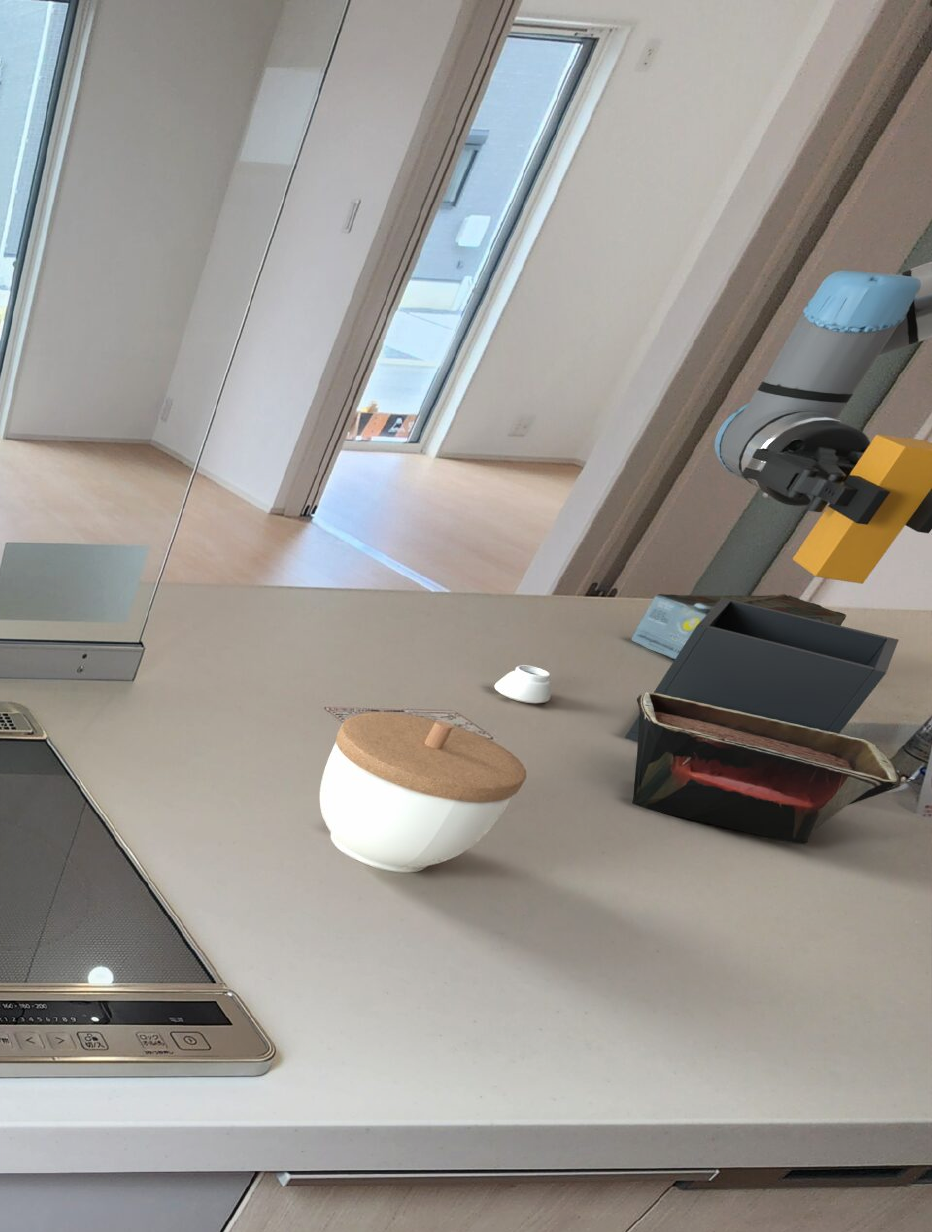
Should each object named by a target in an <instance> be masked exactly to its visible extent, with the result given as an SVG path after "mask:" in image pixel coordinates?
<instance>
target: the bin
mask: <svg viewBox="0 0 932 1232" xmlns="http://www.w3.org/2000/svg"><path fill="white" fill-rule="evenodd" d="M898 643H899V639H898V638H894V637H889V636H886V635H881V634H877V633H873V632H868V631H864V630H860V629H856V628H852V627H849V626H848V627H847V626H844V625H841V626H839V625H835V624H831V623H827V622H823V621H818V620H814V619H810V618H806V617H802V616H797V615H793V614H789V613H785V612H781V611H776V610H772V609H768V608H764V607H760V606H756V605H751V604H747V603H743V602H739V601H735V600H730V599H726V598H722V599H721V600H720V601H719V602H718V603H717V604H716V605H715V606H714V607H713V609H712V610H711V611H710V612H709V613H708V614H707V615H706V616H705V617H704V618H703V619H702V620H701V622H700V623H699V624H698V625H697V626H696V628H695V629H694V631H693V632H692V634H691V635H690V637H689V638H688V640H687V642H686V643H685V645H684V646H683V648H682V649H681V651H680V652H679V654H678V655H677V657H676V659H673V661H672V663H671V665H670V666H669V668H668V670H667V671H666V673H665V674H664V676H663V677H662V679H661V680H660V682H659V683H658V685H657V686H656V688H655V690H654V691H653V693H656V694H663V695H667V696H671V697H675V698H680V699H685V700H690V701H694V702H699V703H704V704H709V705H713V706H716V707H721V708H726V709H731V710H736V711H740V712H744V713H748V714H752V715H757V716H762V717H766V718H770V719H776V720H779V721H783V722H788V723H792V724H797V725H801V726H806V727H809V728H815V729H819V730H823V731H828V732H834V733H837V734H841V732H842V731H843V730H844V728H845V727H846V725H847V724H848V723H849V722H850V720H851V719H852V718H853V716H854V715H855V714H856V713H857V711H858V710H859V709H860V707H861V706H862V705H863V703H864V702H865V701H866V700H867V698H868V697H869V696H870V694H871V693H872V692H873V691H874V689H875V688H876V687H877V685H878V684H879V683H880V682H881V680H882V679H883V678H884V676H885V675H886V674H887V672H888V669H889V667H890V664H891V661H892V659H893V656H894V653H895V651H896V649H897V646H898ZM639 715H640V713H638V716H637V717H636V719H635V720H634V722H633V724H632V725H631V727H630V728H629V730H628V731H627V732H626V734H625V736H624V739H627V740H630V741H633V742H636V743H638V731H639Z"/></svg>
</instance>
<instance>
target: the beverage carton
mask: <svg viewBox="0 0 932 1232" xmlns="http://www.w3.org/2000/svg"><path fill="white" fill-rule="evenodd" d="M722 598H726V599H730V600H735V601H739V602H743V603H747V604H751V605H756V606H760V607H764V608H768V609H772V610H776V611H781V612H785V613H789V614H793V615H797V616H802V617H806V618H810V619H814V620H818V621H823V622H827V623H831V624H835V625H839V626H842V624H843V622H844V621H845V620H846V618H847V614H845V613H843V612H840V611H836V610H832V609H829V608H826V607H823V606H822V605H820V604H817V603H815V602H809V601H807V600H804V599H801V598H798V597H795V596H792V595H787V594H785V593H781V594H777V595H776V594H774V595H773V594H770V595H768V594H767V595H733V594H732V595H710V594H709V595H708V594H707V595H706V594H705V595H703V594H700V595H699V594H697V595H696V594H685V595H684V594H674V593H673V594H666V593H665V594H663V593H659V594H656V595H655V596H654V598H653V599H652V601H651V603H650V605H649V606H648V608H647V610H646V611H645V613H644V615H642V617H641V618H640V621H639V622H638V624H637V626H636V628H635V630H634V633H633V634H632V636H631V642H633V643H635V644H638V645H640V646H642V647H644V648H646V649H648V650H650V651H653V652H656V653H658V654H661V655H664V656H666V657H667V658H670V659H672V660H675V659H676V657H677V655H678V654H679V652H680V651H681V649H682V648H683V646H684V645H685V643H686V642H687V640H688V638H689V637H690V635H691V634H692V632H693V631H694V629H695V628H696V626H697V625H698V624H699V623H700V622H701V620H702V619H703V618H704V617H705V616H706V615H707V614H708V613H709V612H710V611H711V610H712V609H713V607H714V606H715V605H716V604H717V603H718V602H719V601H720V600H721V599H722Z"/></svg>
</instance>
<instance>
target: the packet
mask: <svg viewBox="0 0 932 1232" xmlns="http://www.w3.org/2000/svg"><path fill="white" fill-rule="evenodd" d="M849 475H853V476H860V477H862V478H864V479H866V480H868V481H870V482H872V483H874V484H876V485H877V486H880V487H882V488H884V489H886V490H888V491H890V493H889V495H888V496H887V498H886V499H885V500H884V502H883V503H882V505H881V506H880V508H879V509H878V510H877V512H876V513H875V515H874V516H873V517H872V519H871V520H870V522H869V523H868V525H866V524H859V523H856V522H854V521H852V520H850V519H849V518H847V517H845V516H844V515H842V514H840V513H839V512H837V511H835V510H834V509H832V508H830V507H829V505H830V503H828V505H827V506H826V508H825V509H824V510H823V511H824V512H822V514H821V516H820V518H819V519H818V520H817V522H816V523H815V525H814V526H813V527H812V529H811V531H810V532H809V534H808V535H807V537H806V538H805V540H804V541H803V542H802V544H801V545H800V547H799V548H798V550H797V551H796V553H795V554H794V556H793V557H792V561H794V562H795V563H796V564H798V565H799V566H801V567H802V568H803V569H805V570H806V571H807V572H808V573H810V574H811V575H813V576H814V577H816V578H823V579H828V580H829V579H831V580H837V581H843V582H848V583H855V584H860V585H862V584H864V583H865V582H866V580H867V579H868V577H869V576H870V574H871V573H872V572H873V570H874V569H875V568H876V566H877V565H878V564H879V562H880V560H881V559H882V558H883V556H884V555H885V553H887V551H888V550H889V548H890V547H891V546H892V544H893V543H894V542H895V540H896V539H897V537H898V536H899V534H900V533H901V532H902V530H903V529H904V528H905V527H906V525H905V524H906V523H907V522H908V520H909V519H910V518H911V516H912V515H913V513H914V512H915V511H916V509H917V508H918V507H919V505H920V504H921V502H922V501H923V500H924V498H925V497H926V496H927V494H928V493H929V492H930V490H931V489H932V442H930V441H928V440H926V439H925V440H924V439H917V438H908V437H900V436H892V435H884V434H875V436H874V437H873V439H872V440H871V441H870V445H869V446H868V448H867V449H866V451H865V452H864V454H863V455H862V457H861V458H860V460H859V461H858V463H857V464H856V466H855V467H854V469H853V470H852V472H851V473H850V474H849ZM848 477H849V476H848ZM848 477H847V478H848ZM846 480H847V479H846ZM846 480H845V481H846Z"/></svg>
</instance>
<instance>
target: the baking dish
mask: <svg viewBox="0 0 932 1232" xmlns="http://www.w3.org/2000/svg"><path fill="white" fill-rule="evenodd" d="M636 702H637V705H638V710H639V711H638V712H639V713H638V716H639V731H638V742H637V749H636V760H635V761H636V762H635V775H634V776H635V777H634V786H633V797H632V802H631V804H632V805H635V806H638V807H641V808H643V809H646V810H649V811H653V812H658V813H662V814H666V815H670V816H675V817H678V818H682V819H685V820H686V819H687V820H689V821H690V820H691V821H695V822H700V823H704V824H708V825H713V826H718V827H722V828H726V829H731V830H734V831H735V830H736V831H740V832H744V833H749V834H754V835H757V836H762V837H767V838H769V839H770V838H771V839H775V840H780V841H784V842H789V843H793V844H802V845H806V844H807V843H808V842H809V839H810V837H811V835H812V833H813V831H814V830H816V829H817V828H818V827H820V826H821V825H823V824H825V823H826V821H828V820H829V819H830V818H831V819H832V817H834V815H835V816H836V814H838V813H839V812H840V811H842V810H843V809H844V808H846V807H847V806H850V805H853V804H855V803H858V802H862V801H864V800H867V799H870V798H873V797H875V796H878V795H880V794H884V793H887V792H889V791H892V790H894V789H897V788H899V787H901V786H902V785H901V783H902V778H901V776H900V774H899V772H898V770H897V769H896V768H897V767H896V766H895V764H894V763H893V762H892V761H891V760H890V758H889V756H888V755H887V754H885V752H883V750H882V749H880V747H879V746H878V745H877V744H875V743H874V742H870V741H868V740H867V739H863V738H856V737H853V736H849V735H846V734H841V733H839V734H837V733H834V732H828V731H823V730H819V729H815V728H809V727H806V726H801V725H797V724H792V723H788V722H783V721H779V720H776V719H770V718H766V717H762V716H757V715H752V714H748V713H744V712H740V711H736V710H731V709H726V708H721V707H716V706H713V705H709V704H704V703H699V702H694V701H690V700H685V699H680V698H675V697H671V696H667V695H663V694H656V693H654V692H647V691H645V692H644V693H642V694H639V695H638V697H637V698H636ZM639 714H640V715H639Z"/></svg>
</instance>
